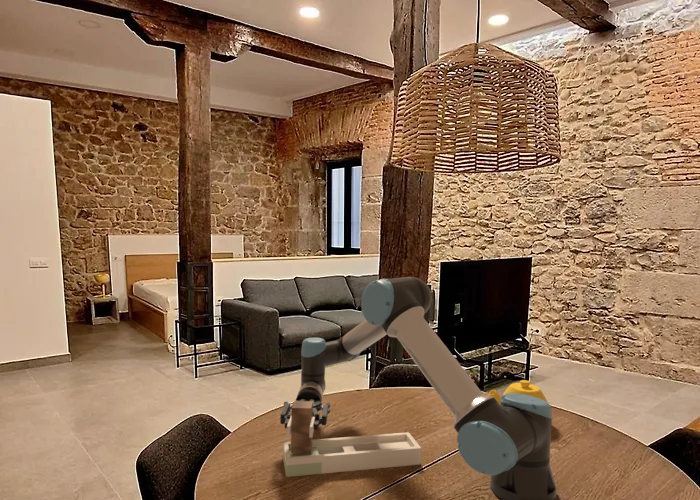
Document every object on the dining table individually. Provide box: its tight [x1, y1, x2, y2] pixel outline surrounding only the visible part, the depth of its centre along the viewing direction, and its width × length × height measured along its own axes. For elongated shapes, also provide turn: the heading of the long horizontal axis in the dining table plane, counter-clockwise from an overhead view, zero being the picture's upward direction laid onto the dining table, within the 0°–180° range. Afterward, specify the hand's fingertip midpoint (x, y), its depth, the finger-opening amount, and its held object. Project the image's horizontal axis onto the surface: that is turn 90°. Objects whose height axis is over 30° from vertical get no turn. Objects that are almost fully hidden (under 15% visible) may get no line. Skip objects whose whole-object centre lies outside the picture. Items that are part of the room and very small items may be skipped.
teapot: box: [488, 379, 548, 406], centre depth 160 cm, size 20×16×14 cm
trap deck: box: [282, 431, 422, 478], centre depth 132 cm, size 36×10×4 cm, turn 103°
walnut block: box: [290, 400, 313, 454], centre depth 128 cm, size 5×5×12 cm
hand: (299, 431), depth 123 cm, fingers closed on walnut block, 5 cm apart
